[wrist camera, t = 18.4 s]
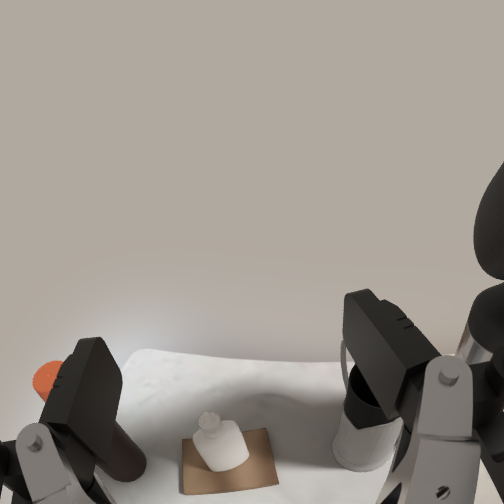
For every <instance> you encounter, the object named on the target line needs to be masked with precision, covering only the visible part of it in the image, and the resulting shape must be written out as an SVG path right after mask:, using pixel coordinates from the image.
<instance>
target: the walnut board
mask: <svg viewBox="0 0 504 504" xmlns="http://www.w3.org/2000/svg"><path fill="white" fill-rule="evenodd" d="M241 433H242V435H243V438H244V441H245V444H246V446H247V449H248V452H249V457H248V459H247V460H246V461H245V462H243V463H242V464H241V465H239V466H237V467H235V468H233V469H230V470H227V471H220V472H214V471H212V470H210V468H209V467H208V466H207V464H206V463H205V461H204V460H203V458H202V457H201V455H200V454H199V452H198V450H197V449H196V447H195V445H194V442H193V439H182V446H183V485H184V494H185V495H202V494H215V493H225V492H234V491H242V490H249V489H255V488H261V487H267V486H272V485H277V484H279V481H278V477H277V473H276V469H275V464H274V460H273V456H272V452H271V447H270V443H269V439H268V435H267V430H266V428H263V429H258V430H252V431H247V432H241Z"/></svg>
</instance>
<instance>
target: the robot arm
mask: <svg viewBox="0 0 504 504" xmlns="http://www.w3.org/2000/svg"><path fill="white" fill-rule="evenodd" d="M474 250H475V254H476V257H477V260H478V262H479V264H480V266H481V267H482V269H483V270H484V271H485V272H486V273H487V274H489V275H490V276H492V277H494V278H496V279H500V280H504V163H503V164H502V165H501V167H500V168H499V170H498V171H497V173H496V175H495V176H494V177H493V179H492V180H491V182H490V184H489V185H488V187H487V189H486V191H485V193H484V195H483V197H482V200H481V202H480V205H479V208H478V212H477V215H476V220H475V225H474ZM343 339H344V342H345V345H346V347H347V349H348V351H349V352H350V354H351V356H352V358H353V359H354V361H355V363H356V365H357V366H358V368H359V370H360V371H361V373H362V375H363V377H364V378H365V380H366V382H367V384H368V385H369V387H370V389H371V391H372V392H373V394H374V396H375V398H376V400H377V401H378V403H379V405H380V407H381V408H382V410H383V412H384V414H385V416H386V417H387V419H388V420H390V419H392V418H394V417H397V416H399V415H400V417H401V418H402V420H403V423H402V426H401V430H400V435H399V439H398V442H397V446H396V450H395V454H394V457H393V461H392V464H391V467H390V471H389V474H388V477H387V479H386V481H385V483H384V485H383V487H382V489H381V492H380V494H379V496H378V499H377V501H376V504H474V499H475V493H476V487H477V480H478V473H479V465H480V458H481V460H482V462H483V464H484V466H485V467H486V469H487V471H488V473H489V475H490V477H491V479H492V481H493V483H494V485H495V487H496V489H497V491H498V493H499V495H500V497H501V499H502V502H503V504H504V411H503V410H504V282H503V283H501V284H499V285H496V286H493V287H490V288H488V289H486V290H484V291H482V292H481V293H480V294H479V295H478V296H477V297H476V299H475V300H474V302H473V305H472V307H471V311H470V314H469V317H468V320H467V323H466V326H465V329H464V332H463V334H462V337H461V340H460V343H459V346H458V348H457V351H456V353H455V356H448V355H445V356H442V355H441V354H440V353H439V352H438V351H437V350H436V348H435V347H434V346H433V345H432V344H431V343H430V342H429V340H428V339H427V338H426V337H425V336H424V335H423V334H422V332H421V331H420V330H419V329H418V328H417V327H416V326H414V323H413V322H412V321H411V320H410V319H409V318H407V316H406V315H405V314H404V312H403V311H402V310H401V309H400V308H399V307H398V306H396V305H394V304H392V303H391V302H389V301H387V300H381V301H380V300H379V299H378V298H377V297H376V296H375V295H374V294H373V293H372V291H371V290H369V289H363V290H359V291H356V292H351V293H347V294H346V295H345V298H344V315H343ZM56 377H57V379H55V381H54V383H53V385H52V386H53V388H51V390H50V393H49V395H48V398H47V401H46V403H45V406H44V409H43V411H42V414H41V417H40V420H39V422H38V423H33V424H30V425H28V426H26V427H25V428H24V429H22V431H21V432H20V433H19V435H18V437H17V440H13V441H7V442H1V441H0V496H1V491H2V486H3V485H4V486H6V487H7V488H8V489H10V490H11V491H13V496H12V502H11V504H116V502H115V501H114V500H113V498H112V497H111V495H110V493H109V492H108V490H107V489H106V487H105V486H104V484H103V482H102V481H101V479H100V478H99V476H98V474H97V473H96V472H95V471H94V470H95V464H101V465H108V464H109V457H110V450H111V444H112V438H113V432H114V426H115V420H116V415H117V410H118V405H119V400H120V395H121V390H122V384H123V382H122V375H121V371H120V369H119V367H118V365H117V364H116V362H115V360H114V358H113V356H112V355H111V353H110V351H109V349H108V347H107V345H106V343H105V341H104V340H103V339H102V338H101V337H93V338H84V339H80V340H79V341H78V343H77V345H76V347H75V349H74V352H73V354H71V355H69V356H68V358H67V359H66V360H65V361H64V362H63V363H62V364H61V366H60V369H59V371H58V373H57V376H56Z"/></svg>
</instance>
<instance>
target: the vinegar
mask: <svg viewBox="0 0 504 504" xmlns="http://www.w3.org/2000/svg"><path fill="white" fill-rule="evenodd" d="M62 363H63V362H62V361H52V362H49V363H46V364H45V365H43V366H42V367H41V368H40V369H39V370H38V371H37V372H36V373H35V375H34V378H33V387H34V389H35V390H36V392H37V393H38V394H39V395H40V397H41V398H42V399H43V400H44V402H45V403H46V401H47V398H48V395H49V393H50V390H51V388H53V386H52V385H53V383H54V381H55V379H57V377H56V376H57V373H58V371H59V369H60V366H61V364H62ZM96 465H98V466H99V467H100V468H101V469H102V470H104V471H105V472H106V473H107V474H108V475H110V476H111V477H112V478H114V479H115V480H118V481H121V482H130V481H134V480H136V479H137V478H139V477H140V476H141V475H142V474H143V472H144V470H145V468H146V458H145V456H144V453H143V452H142V451H141V450H140V449H139V448H138V447H137V445H136V444H135V443H134V442H133V441H132V440H131V439H130V437H129V436H128V435H127V434H126V433H125V431H124V430H123V429H122V428H121V427H120V425H119V424H118V423H117V422H116V420H115V426H114V432H113V438H112V444H111V450H110V457H109V464H108V465H101V464H96Z"/></svg>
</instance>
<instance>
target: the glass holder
mask: <svg viewBox="0 0 504 504" xmlns="http://www.w3.org/2000/svg"><path fill="white" fill-rule="evenodd" d="M341 368H342V375H343V380H344V384H345V388H346V392H347V394H346V398H345V400H344V403H343V408H342V414H341V420H340V425H339V430H338V433H337V434H336V436H335V438H334V440H333V444H332V451H333V455H334V457H335V459H336V461H337V462H338V463H339V464H340V465H341V466H343V467H344V468H346V469H348V470H351V471H355V472H368V471H372V470H375V469H377V468H379V467H381V466H382V465H384V464H385V463H386V462H387V461H388V460H389V459H390V457H391V455H392V453H393V451H394V445H395V442H396V440H397V438H398V436H399V434H400V430H401V426H402V423H403V420H402V418H401V417H400V415H399V416H397V417H394V418H392V419H390V420H388V419H387V417H386V416H385V414H384V412H383V410H382V408H381V407H380V405H379V403H378V401H377V400H376V398H375V396H374V394H373V392H372V391H371V389H370V387H369V385H368V384H367V382H366V380H365V378H364V377H363V375H362V373H361V371H360V370H359V368H358V366H357V365H356V363H355V365H354V367H353V368H352V370H351V372H350V375H349V378H348V373H347V366H346V345H345V342H344V339H343V340H342V343H341Z"/></svg>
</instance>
